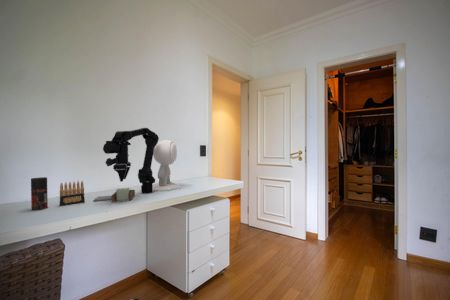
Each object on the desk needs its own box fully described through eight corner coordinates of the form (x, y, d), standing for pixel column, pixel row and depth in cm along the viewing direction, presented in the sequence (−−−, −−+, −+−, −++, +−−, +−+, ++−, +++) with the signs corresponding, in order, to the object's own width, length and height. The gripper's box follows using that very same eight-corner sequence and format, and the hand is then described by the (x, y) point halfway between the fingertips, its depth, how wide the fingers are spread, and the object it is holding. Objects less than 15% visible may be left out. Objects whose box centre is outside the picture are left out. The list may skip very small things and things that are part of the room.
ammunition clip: (59, 206, 107) (59, 182, 107) (59, 205, 109) (59, 182, 108) (84, 202, 114) (84, 180, 114) (84, 202, 116) (83, 180, 116)
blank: (129, 198, 124) (129, 188, 124) (128, 199, 120) (128, 189, 120) (118, 199, 122) (118, 188, 122) (116, 200, 118) (116, 190, 118)
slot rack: (134, 195, 131) (134, 189, 131) (131, 200, 118) (131, 194, 118) (116, 196, 128) (116, 190, 128) (111, 202, 115) (111, 195, 115)
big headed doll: (176, 190, 144) (176, 139, 144) (143, 190, 145) (142, 139, 144) (183, 185, 164) (182, 140, 164) (153, 185, 165) (153, 140, 164)
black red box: (34, 207, 105) (33, 177, 105) (49, 206, 107) (48, 177, 107) (29, 211, 99) (28, 179, 99) (45, 209, 102) (44, 178, 102)
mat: (114, 196, 128) (114, 195, 128) (111, 200, 119) (111, 198, 119) (98, 197, 125) (98, 196, 125) (93, 201, 116) (93, 200, 116)
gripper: (110, 152, 127) (111, 178, 128) (102, 153, 110) (102, 183, 110) (130, 152, 131) (131, 177, 131) (125, 153, 113) (126, 182, 113)
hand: (123, 180), depth 121 cm, fingers open, 9 cm apart
